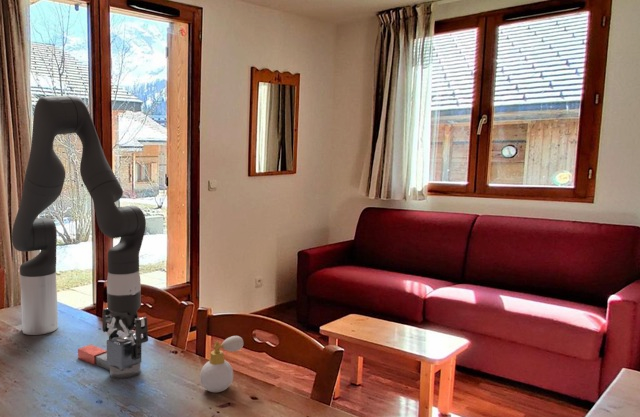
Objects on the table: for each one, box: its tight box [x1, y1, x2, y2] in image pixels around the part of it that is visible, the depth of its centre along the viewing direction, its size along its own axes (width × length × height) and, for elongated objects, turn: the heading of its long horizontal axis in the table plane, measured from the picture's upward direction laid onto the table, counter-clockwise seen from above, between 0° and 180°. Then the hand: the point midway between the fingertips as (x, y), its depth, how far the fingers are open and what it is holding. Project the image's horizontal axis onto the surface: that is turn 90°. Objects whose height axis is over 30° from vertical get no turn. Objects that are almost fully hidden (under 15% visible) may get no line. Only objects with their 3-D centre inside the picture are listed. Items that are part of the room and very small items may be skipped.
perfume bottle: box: [199, 335, 244, 393], centre depth 117 cm, size 8×10×12 cm
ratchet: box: [77, 344, 142, 380], centre depth 128 cm, size 20×7×6 cm, turn 57°
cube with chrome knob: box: [106, 333, 142, 370], centre depth 124 cm, size 6×6×6 cm
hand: (125, 354), depth 124 cm, fingers open, 8 cm apart
